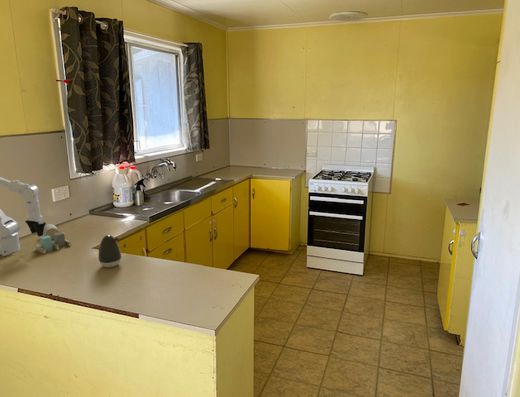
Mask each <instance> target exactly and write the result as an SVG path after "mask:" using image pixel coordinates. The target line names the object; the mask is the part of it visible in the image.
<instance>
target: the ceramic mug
mask: <svg viewBox="0 0 520 397" xmlns="http://www.w3.org/2000/svg"><path fill="white" fill-rule="evenodd" d="M59 232H62V233H64V236H65V235H66V233H65V232H63V231H60V230H59V229H58V228H57V226H56V225H55V224H53V223H48V224H46V225H45V227H44V231H43V236H47V235H48V236H50V237H51V239H52V240H54V238H53V234H55V233H59Z"/></svg>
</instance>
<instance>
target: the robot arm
mask: <svg viewBox="0 0 520 397" xmlns="http://www.w3.org/2000/svg"><path fill="white" fill-rule="evenodd" d="M0 186H1V187H5V188H7V189H8V190H9V191H10V192H13V193H15V194H18V195H21V196H22V197H23V198H24V200H25V206H26V212H27V214H26V218H27V220H25V221H24V222H25V224H26V225H27V227H28V228H29V230H30V233H31V234H35V233H36V235H37V236H38V237H43V236H44V234H43V231H44V227H45V226H46V225H47V222H45V221H44V219H43V218H44V215H41V214H42V213H41V206H40V201H39V194H40V188H39V186H37V185H35V184H31V185H29V183H23V182H21V181H20V180H19V179H14V180H9V179H6V178H4V177H2V176H0ZM20 227H21V226H20V224H19V223H18V222H17V221H16V220H14V218H12V217H10V216H8V215H6V214H5V212H3V210H2V209H1V208H0V255H1V256H2V257H6V256H10V255H13V253H15V252H19V251H20V250H21V245H20V240H19V232H18V231H19V230H20Z"/></svg>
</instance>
